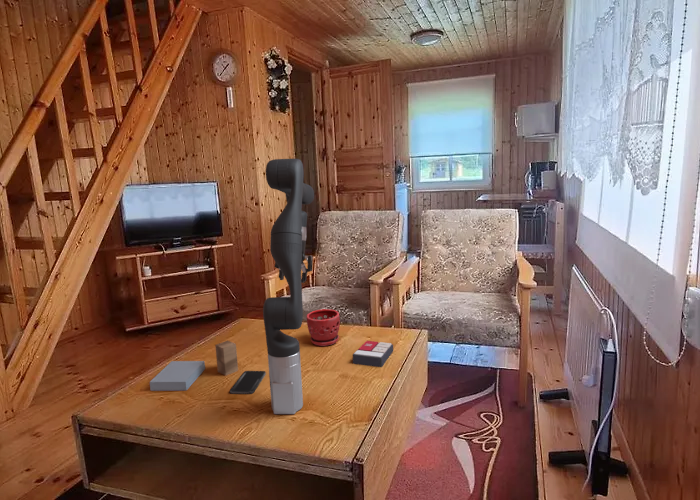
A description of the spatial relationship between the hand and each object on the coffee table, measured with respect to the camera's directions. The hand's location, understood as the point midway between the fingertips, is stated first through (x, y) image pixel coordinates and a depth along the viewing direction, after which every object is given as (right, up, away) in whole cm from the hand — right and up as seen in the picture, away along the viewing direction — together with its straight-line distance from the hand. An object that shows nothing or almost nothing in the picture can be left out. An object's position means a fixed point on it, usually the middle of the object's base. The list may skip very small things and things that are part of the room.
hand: (292, 281), depth 171 cm
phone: (-12, -33, -21) cm, 41 cm away
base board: (-37, -32, -16) cm, 51 cm away
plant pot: (+11, -26, +12) cm, 31 cm away
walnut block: (-21, -31, -11) cm, 39 cm away
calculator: (+30, -28, -4) cm, 42 cm away
